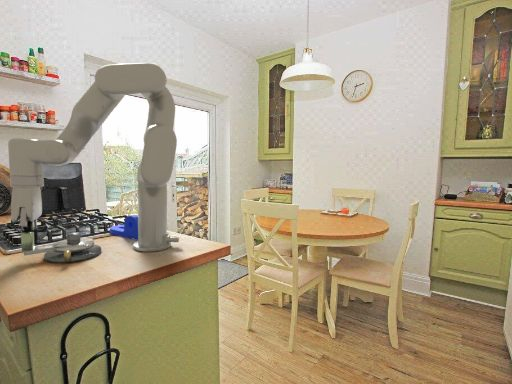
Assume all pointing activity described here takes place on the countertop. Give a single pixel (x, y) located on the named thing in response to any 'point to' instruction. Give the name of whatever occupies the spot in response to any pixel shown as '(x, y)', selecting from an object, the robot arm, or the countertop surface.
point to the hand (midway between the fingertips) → (30, 242)
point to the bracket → (127, 228)
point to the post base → (72, 255)
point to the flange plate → (56, 244)
